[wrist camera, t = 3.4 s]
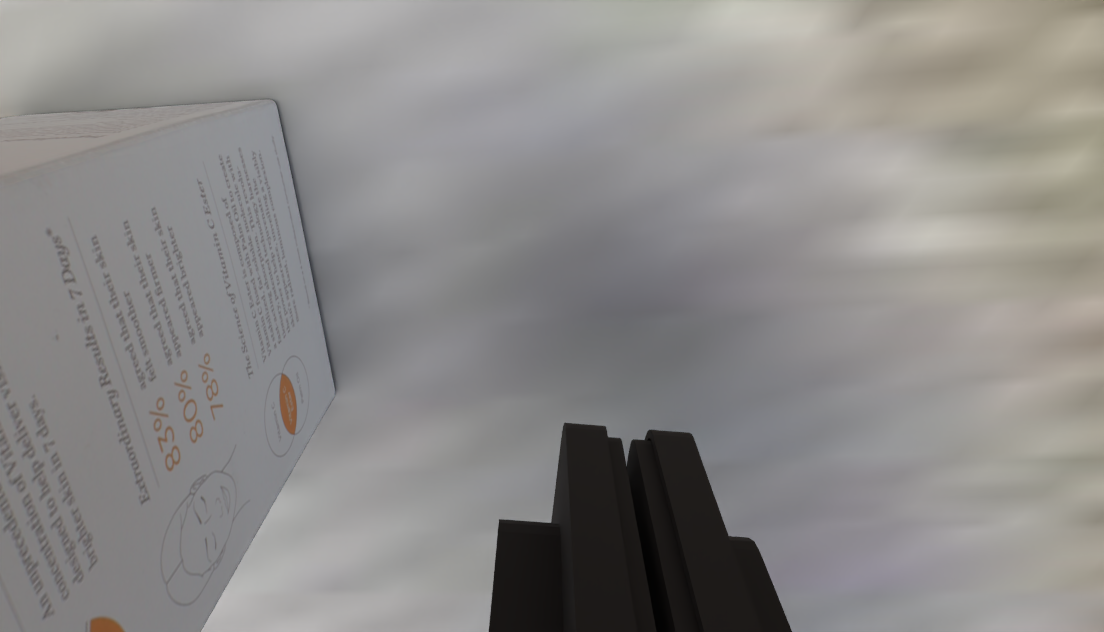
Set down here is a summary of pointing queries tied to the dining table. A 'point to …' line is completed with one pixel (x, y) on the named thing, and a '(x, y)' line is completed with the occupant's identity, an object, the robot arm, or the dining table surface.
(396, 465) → the dining table surface
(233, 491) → the small box
